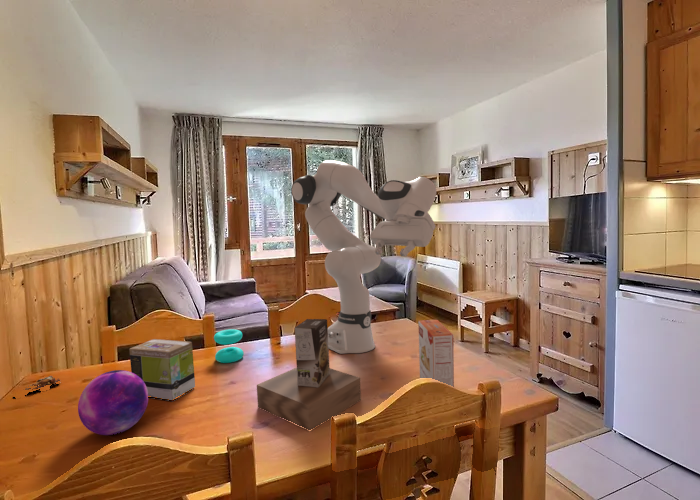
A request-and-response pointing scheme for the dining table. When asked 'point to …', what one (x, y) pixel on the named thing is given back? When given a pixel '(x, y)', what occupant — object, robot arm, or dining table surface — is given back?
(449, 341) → the cracker box
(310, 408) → the walnut block
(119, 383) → the decorative orb
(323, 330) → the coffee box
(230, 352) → the donuts
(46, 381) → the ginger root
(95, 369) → the dining table surface
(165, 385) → the tea box
